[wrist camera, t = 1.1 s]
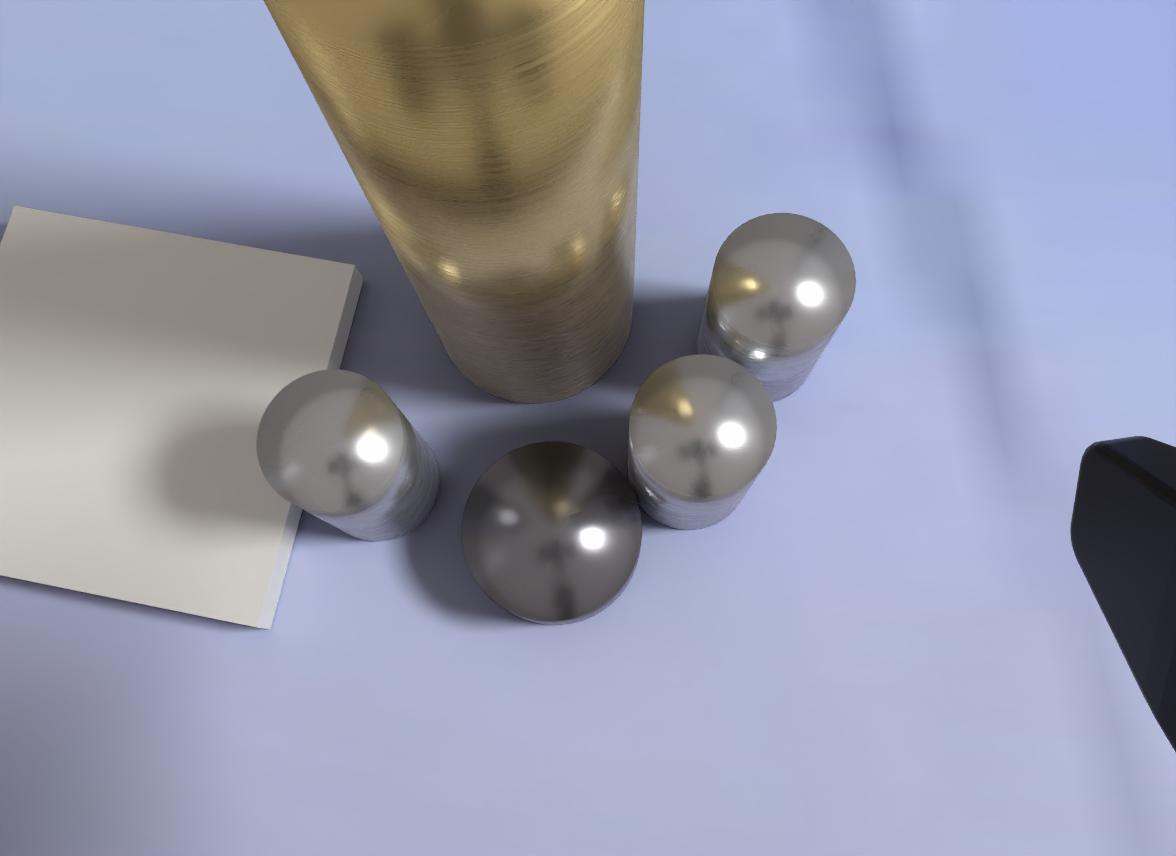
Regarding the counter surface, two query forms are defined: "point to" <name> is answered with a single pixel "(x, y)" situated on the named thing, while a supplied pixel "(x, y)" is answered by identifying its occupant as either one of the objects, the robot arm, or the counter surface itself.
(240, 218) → the counter surface
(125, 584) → the tile
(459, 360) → the brass tube
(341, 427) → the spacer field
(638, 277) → the counter surface
